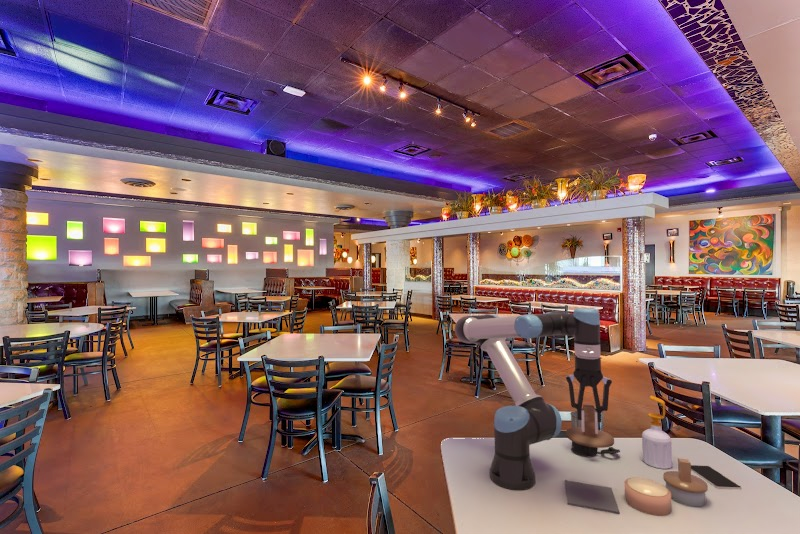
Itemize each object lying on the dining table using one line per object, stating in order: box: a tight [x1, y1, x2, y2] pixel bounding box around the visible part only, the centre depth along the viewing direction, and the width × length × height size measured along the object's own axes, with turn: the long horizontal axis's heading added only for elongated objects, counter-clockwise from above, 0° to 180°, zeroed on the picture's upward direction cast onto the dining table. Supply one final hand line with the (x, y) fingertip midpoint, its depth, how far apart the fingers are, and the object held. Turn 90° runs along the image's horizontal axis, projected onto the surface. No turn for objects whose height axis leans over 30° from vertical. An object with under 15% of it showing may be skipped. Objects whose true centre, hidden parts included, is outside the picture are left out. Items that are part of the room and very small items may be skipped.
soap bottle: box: [641, 395, 673, 470], centre depth 142 cm, size 9×9×25 cm
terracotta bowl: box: [624, 477, 672, 517], centre depth 116 cm, size 12×12×5 cm
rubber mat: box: [564, 479, 620, 515], centre depth 120 cm, size 14×14×1 cm
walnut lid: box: [565, 404, 615, 449], centre depth 120 cm, size 14×14×10 cm
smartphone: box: [691, 464, 742, 490], centre depth 131 cm, size 8×1×15 cm
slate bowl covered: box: [662, 457, 708, 508], centre depth 119 cm, size 11×11×11 cm
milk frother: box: [570, 410, 621, 458], centre depth 150 cm, size 14×16×15 cm
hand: (589, 430), depth 120 cm, fingers closed on walnut lid, 3 cm apart
